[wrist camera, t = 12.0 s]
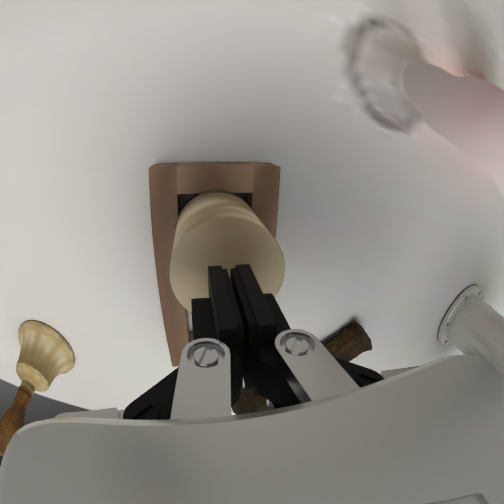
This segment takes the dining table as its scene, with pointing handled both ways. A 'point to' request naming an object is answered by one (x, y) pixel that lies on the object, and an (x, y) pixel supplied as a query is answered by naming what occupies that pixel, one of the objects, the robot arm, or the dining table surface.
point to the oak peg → (221, 245)
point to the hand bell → (34, 372)
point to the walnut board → (168, 209)
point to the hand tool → (339, 347)
